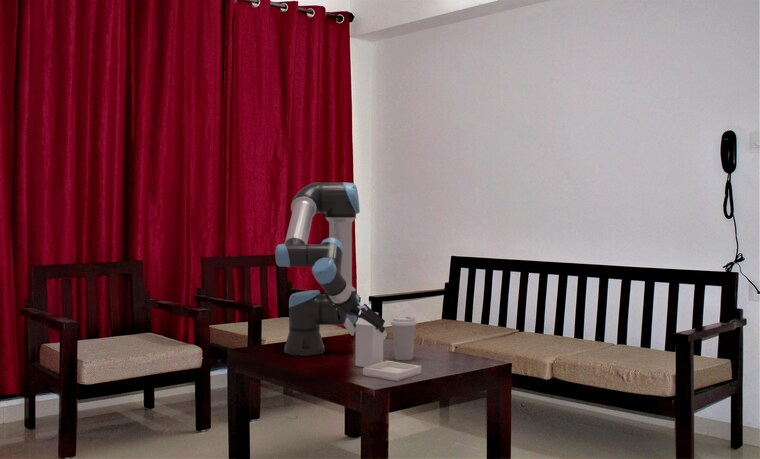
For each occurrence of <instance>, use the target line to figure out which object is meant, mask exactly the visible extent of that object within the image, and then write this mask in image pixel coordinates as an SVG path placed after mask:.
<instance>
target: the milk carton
mask: <svg viewBox="0 0 760 459" xmlns="http://www.w3.org/2000/svg"><path fill="white" fill-rule="evenodd" d="M361 312H362V311H361V310H360V313H361ZM374 312H375V313H376V314H377V315H379V312H376V311H374ZM355 328H356V331H355V366H356V367H361V368H364V367H368V366H371V365H374V364H378V363H381V362H384V340H382V338H381V337H380V335H379V334H378V332H377V331H376V330H375V326H373V325H372V324H370V323H369V322H367V321H365V320H364V319H362V318H357V319H356V322H355Z"/></svg>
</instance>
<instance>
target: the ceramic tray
mask: <svg viewBox="0 0 760 459" xmlns="http://www.w3.org/2000/svg"><path fill="white" fill-rule="evenodd" d="M421 374H422V366H421V365H417V364H410V363H405V362H398V361H392V360H385V361H383V362H381V363H378V364H374V365H371V366H368V367H362V376H366V377H370V378H376V379H382V380H386V381H387V380H388V381H393V382H400V381H403V380H406V379H410V378H411V377H415V376H419V375H421Z"/></svg>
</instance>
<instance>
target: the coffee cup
mask: <svg viewBox="0 0 760 459" xmlns="http://www.w3.org/2000/svg"><path fill="white" fill-rule="evenodd" d="M390 324H391V327H392V339H393V351H394V359H395V360H398V361H412V360H413V359H414V356H413V355H414V346H415V335H416V334H415V333H416V325H418V323H417V320H416V319H415V317H414V316H405V315H402V316H400V315H399V316H394V317H393V318H392V320H391V322H390Z"/></svg>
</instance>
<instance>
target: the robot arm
mask: <svg viewBox="0 0 760 459" xmlns="http://www.w3.org/2000/svg"><path fill="white" fill-rule="evenodd" d="M290 211H291V217H290V220H289V224H288V225H289V226H288V228H287V233H286V237H285V241H284V243H282V244H277V246H276V247H275V263H276V265H277V266H278V267H287V268H298V267H299V268H301V267H302V268H303V267H305V268H311V273H312V275H313V276H314V277H313V278H314V279H315V280H316V282H317V283H318V284H319V285H320V286H321V288H322V290H324V293H325V294H322V293H321V292H320V290H319V289H317V290H316V289H315V290H314V289H312V290H310V289H309V290H304V291H298V292H293V293H292V294H291V295H290V296H289V298H288V309H289V310H288V320H289V321H288V326H289V327H288V335H287V338H286V343H285V345H284V353H285V354H286V353H287V354H286V355H289V354H290V356H297V355H299V357H300V356H303V357H304V356H305V357H306V356H308V357H309V356H316V355H317V356H318V355H321V354H323V353H325V345H324V343H323V342H324V341H323V338H322V336H321V330H320V327H321V326H344V328H345V329H346V330H347V332H349V334H350V336H354V335H355V334H356V326H354V324H356V322H357V320H358V319H359V318H362V319H364V320H365V321H367V322H369V323H370V324H372V325H373V326H375V330H376V331H377V332H378V334H379V335H380V337H381V338H382V340H383V341H384V340H385V339H386V337H387V335H388V332H387V331H386V328H385V326H384V324H385V322H386V320H385V319H384V318H382V317H381V316H380V315H379V314H378V315H377V314H376V313H375V312H376V311H374V310H373V309H371V308H370V307H369V306H368V305H367V303H364V304H362V305H361V304H360V295H359V294H358V293H357V292H356V291H357V290H356V288H355V287H354V286H353V281H352V280H353V278H352V276H353V271H352V270H353V269H352V268H353V260H352V259H353V251H352V250H353V222H354V221H355V220H356V219H357V214H359V213H360V211H361V209H360V198H359V194H358V187H357V185H356V184H355V183H353V182H344V181H343V182H312V183H310V184H307V185H306V186H304V187H302V188H301V189H300V190H299V191H298V192H297V193H296V194H295V196H294V197H293V198H292V200H291V204H290ZM316 214H324V215H325V217H324V218H325V219H326V221H327V222H328V224H329V226H328V227H329V228H328V229H329V233H328V234H329V236H328V237H327V238H325V239H322V241H321V243H320V244H319V243H318V244H313V243H312V244H311V243H310V244H308V242H309V237H310V231H311V227H312V222H313V217H315V215H316ZM361 311H362V312H361Z"/></svg>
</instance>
